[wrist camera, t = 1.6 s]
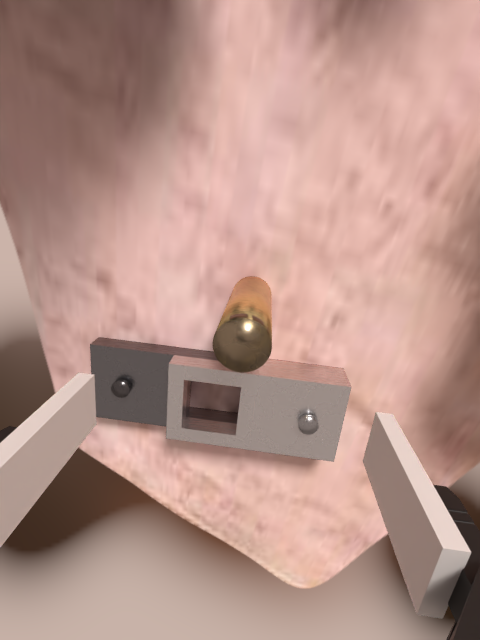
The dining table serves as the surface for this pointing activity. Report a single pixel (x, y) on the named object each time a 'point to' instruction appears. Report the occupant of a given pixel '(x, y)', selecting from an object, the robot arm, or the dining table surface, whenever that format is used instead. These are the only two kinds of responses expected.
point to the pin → (245, 327)
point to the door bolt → (218, 426)
